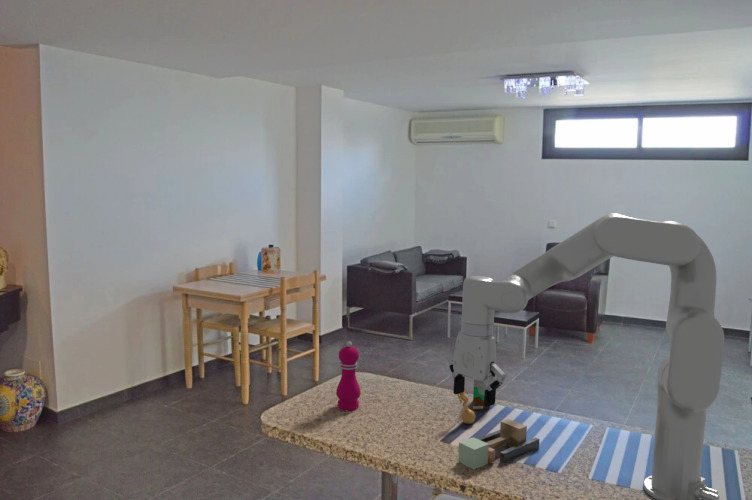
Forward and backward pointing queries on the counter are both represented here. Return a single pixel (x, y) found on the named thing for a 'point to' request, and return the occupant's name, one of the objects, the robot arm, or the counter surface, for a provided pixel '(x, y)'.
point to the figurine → (466, 409)
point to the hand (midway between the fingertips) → (473, 399)
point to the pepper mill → (348, 379)
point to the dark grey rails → (513, 451)
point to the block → (473, 453)
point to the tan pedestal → (507, 437)
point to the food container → (479, 396)
